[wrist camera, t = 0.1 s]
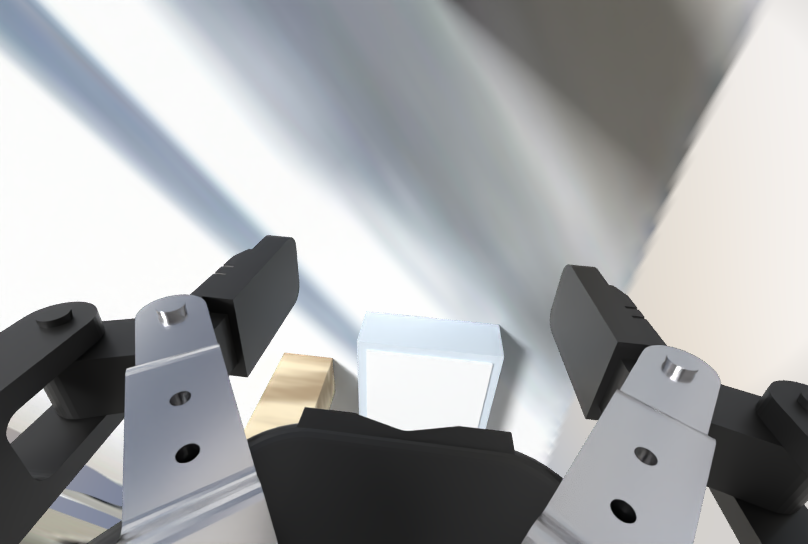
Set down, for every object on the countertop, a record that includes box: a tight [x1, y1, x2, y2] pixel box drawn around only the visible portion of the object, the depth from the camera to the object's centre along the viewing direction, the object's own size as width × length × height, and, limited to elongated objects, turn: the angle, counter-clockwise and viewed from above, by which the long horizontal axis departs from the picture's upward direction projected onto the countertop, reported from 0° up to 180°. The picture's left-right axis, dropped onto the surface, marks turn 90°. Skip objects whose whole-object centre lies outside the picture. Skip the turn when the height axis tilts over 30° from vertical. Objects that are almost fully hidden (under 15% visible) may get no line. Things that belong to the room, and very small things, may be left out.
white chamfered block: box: [357, 311, 504, 431], centre depth 37 cm, size 18×12×4 cm, turn 177°
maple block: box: [244, 353, 335, 439], centre depth 35 cm, size 5×5×12 cm
